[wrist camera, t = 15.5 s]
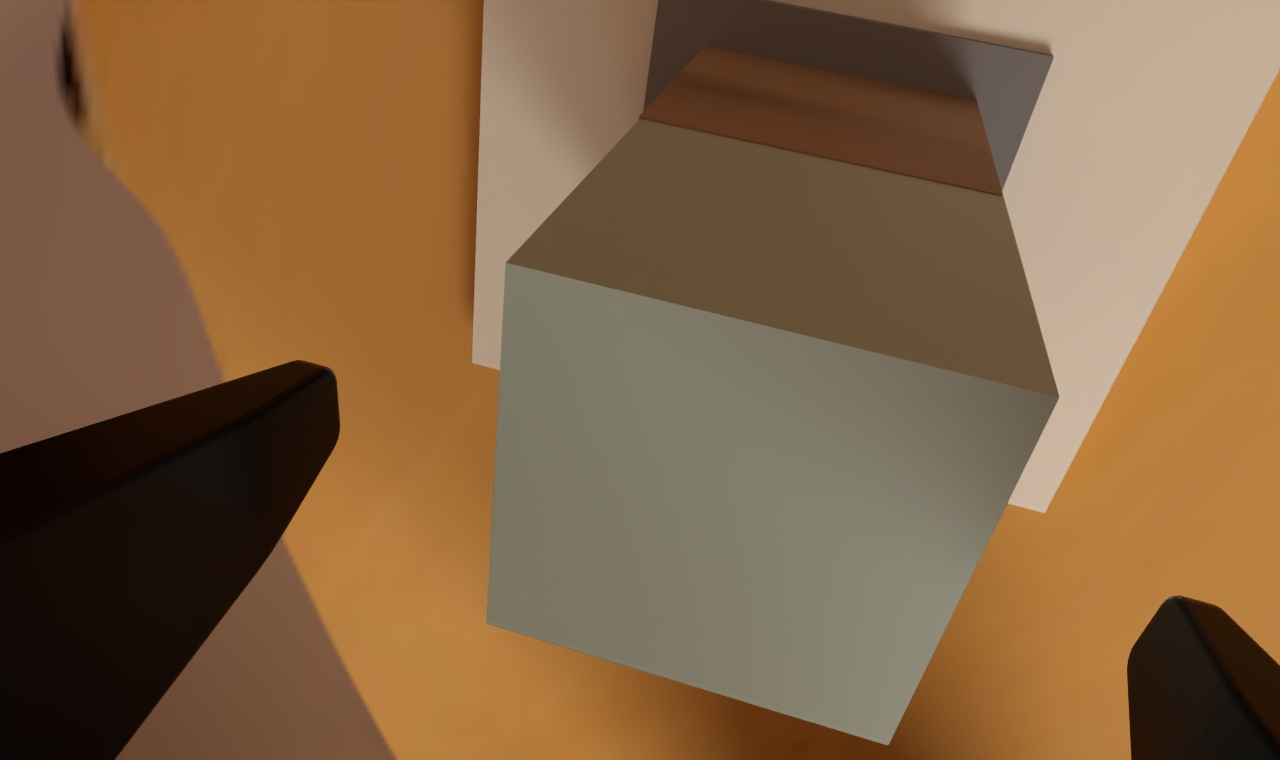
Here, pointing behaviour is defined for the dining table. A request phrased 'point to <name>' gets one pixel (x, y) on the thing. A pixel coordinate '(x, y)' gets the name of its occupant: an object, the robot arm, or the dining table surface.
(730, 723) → the dining table surface
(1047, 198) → the white flat plate
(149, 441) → the robot arm
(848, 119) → the walnut block
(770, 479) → the grey-green block
